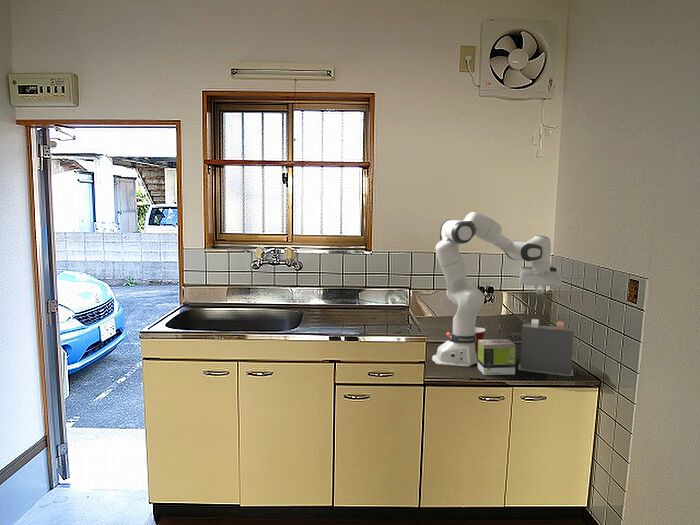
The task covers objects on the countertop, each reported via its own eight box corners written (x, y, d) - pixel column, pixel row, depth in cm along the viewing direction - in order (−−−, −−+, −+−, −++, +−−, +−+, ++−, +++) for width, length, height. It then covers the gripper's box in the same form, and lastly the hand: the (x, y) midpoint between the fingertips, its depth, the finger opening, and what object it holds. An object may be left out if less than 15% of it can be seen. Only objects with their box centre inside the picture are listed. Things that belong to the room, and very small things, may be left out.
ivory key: (529, 338, 224) (530, 322, 223) (530, 332, 234) (531, 318, 233) (538, 339, 223) (539, 323, 222) (539, 333, 232) (540, 319, 231)
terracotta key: (554, 340, 220) (555, 325, 219) (554, 335, 229) (555, 320, 229) (564, 341, 218) (565, 325, 218) (564, 336, 228) (564, 321, 227)
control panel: (518, 369, 227) (519, 326, 225) (519, 365, 235) (520, 323, 232) (573, 376, 218) (575, 332, 216) (572, 371, 225) (575, 328, 223)
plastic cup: (462, 347, 265) (463, 326, 263) (482, 348, 264) (483, 326, 262) (465, 353, 254) (466, 331, 253) (486, 353, 253) (487, 331, 252)
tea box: (507, 368, 230) (508, 338, 228) (515, 375, 220) (516, 344, 219) (476, 368, 230) (477, 338, 228) (483, 375, 220) (484, 344, 218)
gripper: (518, 267, 244) (517, 293, 246) (562, 268, 236) (561, 296, 238) (519, 265, 250) (518, 291, 251) (562, 267, 242) (560, 294, 243)
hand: (539, 294), depth 245 cm, fingers closed
